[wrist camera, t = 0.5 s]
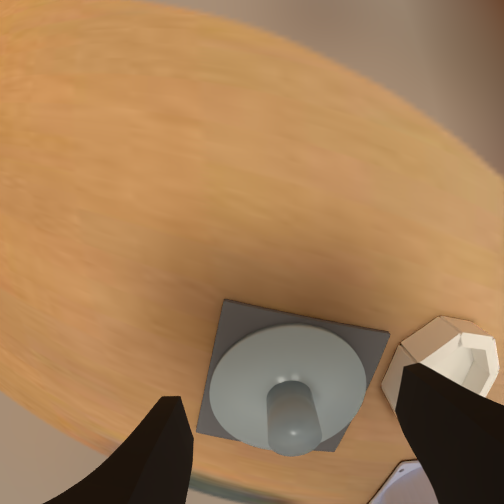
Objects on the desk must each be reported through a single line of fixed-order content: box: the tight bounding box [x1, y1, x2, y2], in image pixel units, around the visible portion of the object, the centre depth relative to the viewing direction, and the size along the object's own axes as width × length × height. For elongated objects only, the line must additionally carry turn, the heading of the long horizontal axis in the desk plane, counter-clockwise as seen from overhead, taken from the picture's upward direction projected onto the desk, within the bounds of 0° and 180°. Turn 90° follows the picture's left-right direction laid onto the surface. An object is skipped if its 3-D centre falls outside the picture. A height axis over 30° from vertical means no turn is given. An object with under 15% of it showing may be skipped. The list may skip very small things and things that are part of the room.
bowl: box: [381, 316, 500, 419], centre depth 19 cm, size 9×9×3 cm
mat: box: [196, 299, 390, 452], centre depth 20 cm, size 11×11×1 cm
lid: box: [209, 323, 366, 456], centre depth 18 cm, size 10×10×5 cm
